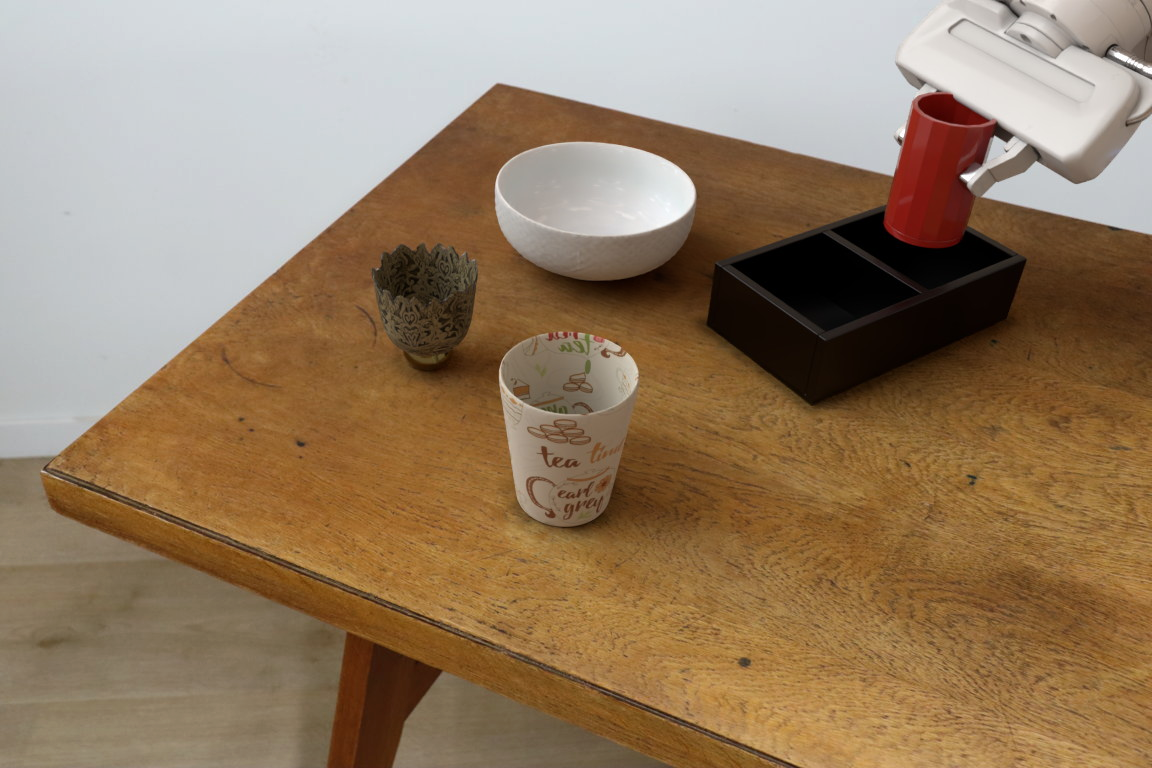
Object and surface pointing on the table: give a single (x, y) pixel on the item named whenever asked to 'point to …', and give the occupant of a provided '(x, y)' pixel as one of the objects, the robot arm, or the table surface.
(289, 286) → the table surface
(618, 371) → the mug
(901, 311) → the caddy
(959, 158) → the cup
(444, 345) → the cup
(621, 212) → the cereal bowl
